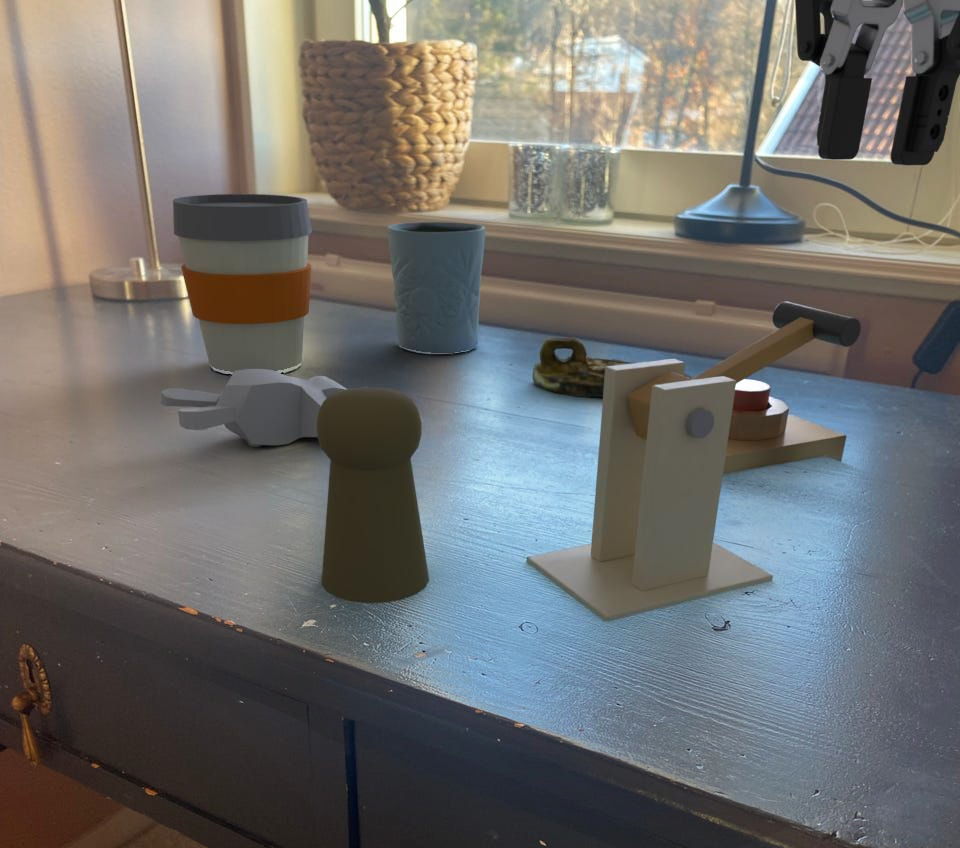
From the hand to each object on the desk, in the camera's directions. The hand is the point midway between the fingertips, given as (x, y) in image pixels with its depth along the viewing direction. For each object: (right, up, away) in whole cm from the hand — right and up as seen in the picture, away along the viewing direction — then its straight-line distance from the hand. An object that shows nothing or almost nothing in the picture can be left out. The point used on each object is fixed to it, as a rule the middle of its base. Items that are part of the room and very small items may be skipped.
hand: (872, 159), depth 49 cm
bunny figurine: (-36, -9, +27) cm, 46 cm away
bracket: (-11, -21, +5) cm, 24 cm away
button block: (0, -10, +25) cm, 27 cm away
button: (0, -7, +24) cm, 25 cm away
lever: (-6, -11, +2) cm, 13 cm away
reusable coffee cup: (-42, +3, +47) cm, 63 cm away
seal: (-7, -1, +42) cm, 43 cm away
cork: (-25, -22, +4) cm, 34 cm away
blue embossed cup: (-24, +7, +56) cm, 62 cm away
